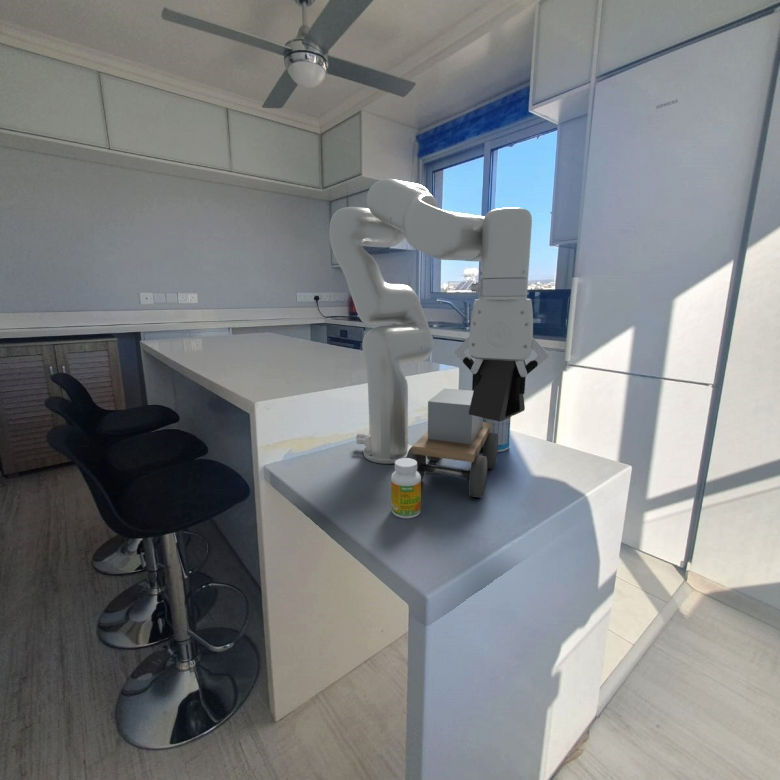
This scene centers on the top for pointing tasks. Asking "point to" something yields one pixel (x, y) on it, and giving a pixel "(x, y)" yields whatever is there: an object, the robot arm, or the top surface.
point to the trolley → (456, 440)
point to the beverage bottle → (500, 432)
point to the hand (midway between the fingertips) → (497, 395)
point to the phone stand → (496, 391)
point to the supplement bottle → (406, 489)
